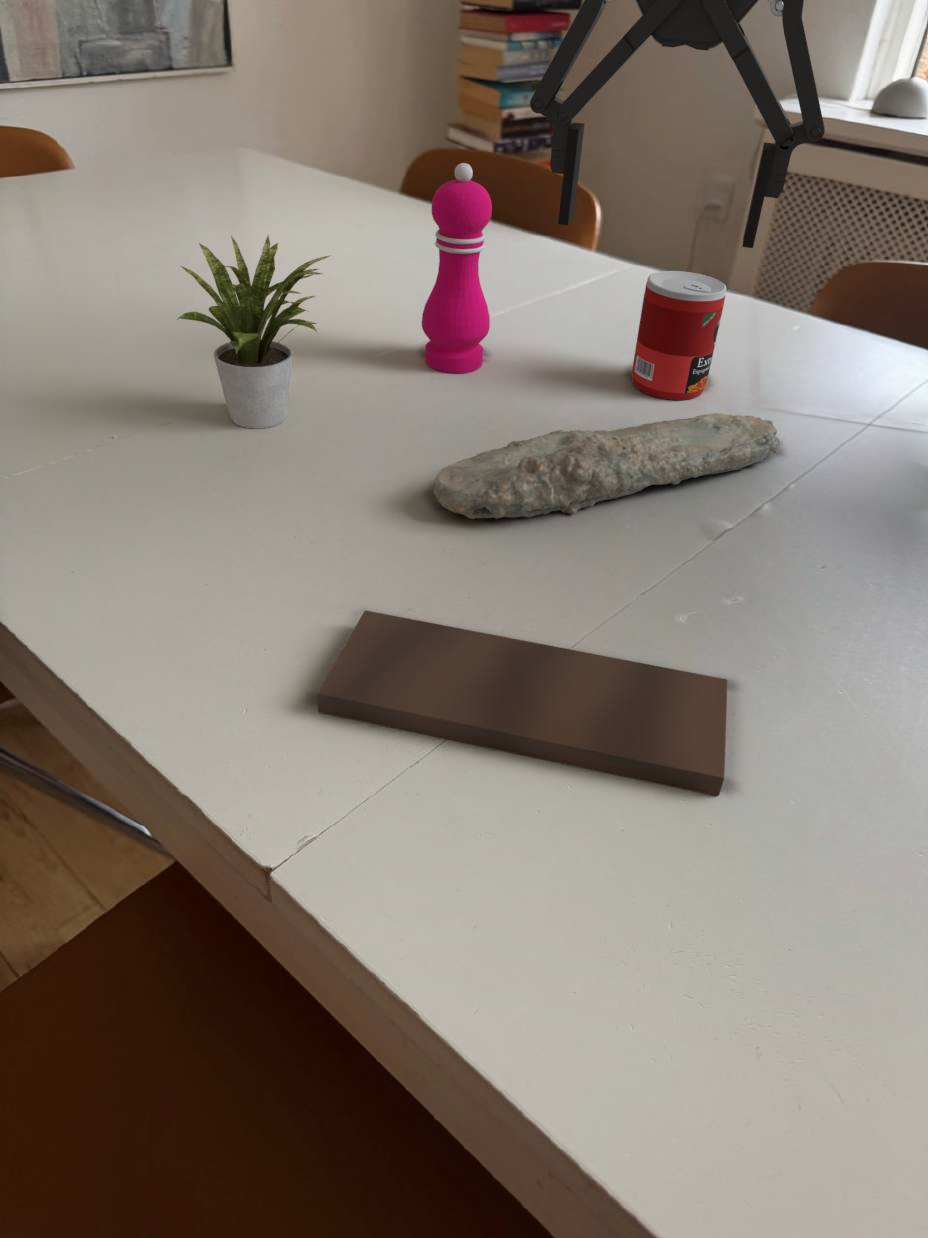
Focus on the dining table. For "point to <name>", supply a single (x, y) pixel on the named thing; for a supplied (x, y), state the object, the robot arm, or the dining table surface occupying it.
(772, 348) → the dining table surface
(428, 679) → the bread board
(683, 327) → the canned food
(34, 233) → the dining table surface
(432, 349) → the pepper mill
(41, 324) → the dining table surface
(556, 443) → the elongated rock
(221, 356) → the house plant
